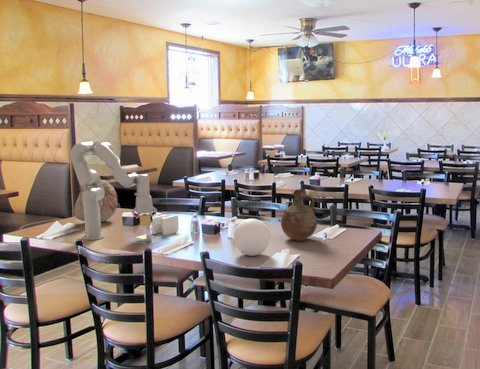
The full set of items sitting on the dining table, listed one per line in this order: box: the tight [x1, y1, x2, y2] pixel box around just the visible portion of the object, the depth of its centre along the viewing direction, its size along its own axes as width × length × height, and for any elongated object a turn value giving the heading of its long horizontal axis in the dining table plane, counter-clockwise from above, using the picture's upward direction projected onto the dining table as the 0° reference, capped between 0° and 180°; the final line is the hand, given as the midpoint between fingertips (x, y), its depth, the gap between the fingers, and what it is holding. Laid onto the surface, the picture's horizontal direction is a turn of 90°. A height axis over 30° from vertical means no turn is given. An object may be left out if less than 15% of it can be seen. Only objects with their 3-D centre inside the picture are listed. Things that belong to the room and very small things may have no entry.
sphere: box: [232, 218, 271, 257], centre depth 276 cm, size 20×20×20 cm
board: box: [124, 233, 170, 246], centre depth 310 cm, size 22×18×5 cm
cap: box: [139, 213, 152, 227], centre depth 314 cm, size 6×6×7 cm
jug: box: [280, 189, 318, 242], centre depth 308 cm, size 22×22×30 cm
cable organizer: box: [151, 213, 179, 236], centre depth 328 cm, size 15×11×12 cm
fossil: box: [74, 179, 119, 223], centre depth 363 cm, size 31×26×30 cm
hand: (145, 223), depth 314 cm, fingers closed on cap, 6 cm apart
